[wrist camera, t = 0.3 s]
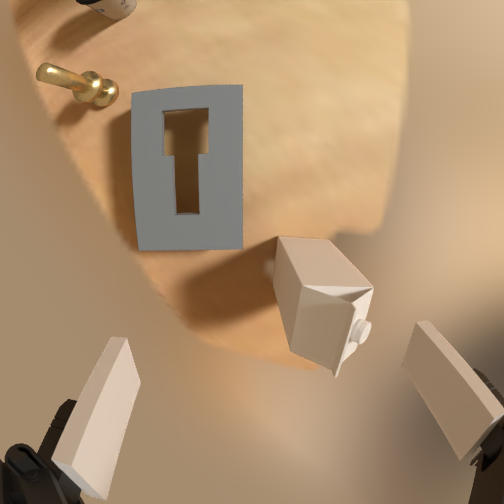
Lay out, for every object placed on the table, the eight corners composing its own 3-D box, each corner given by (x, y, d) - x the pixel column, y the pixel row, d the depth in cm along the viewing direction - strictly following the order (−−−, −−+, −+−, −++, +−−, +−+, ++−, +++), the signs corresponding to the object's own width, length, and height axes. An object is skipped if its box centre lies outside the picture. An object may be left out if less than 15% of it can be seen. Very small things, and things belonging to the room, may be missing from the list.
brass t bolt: (94, 83, 30) (30, 59, 16) (119, 78, 30) (61, 47, 16) (93, 109, 31) (26, 96, 17) (118, 104, 31) (56, 85, 17)
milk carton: (272, 284, 41) (296, 379, 23) (277, 235, 39) (312, 309, 21) (320, 285, 41) (370, 374, 24) (328, 238, 39) (394, 308, 21)
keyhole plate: (147, 101, 32) (131, 92, 26) (241, 95, 32) (242, 84, 27) (152, 236, 38) (138, 250, 32) (241, 234, 38) (242, 249, 33)
